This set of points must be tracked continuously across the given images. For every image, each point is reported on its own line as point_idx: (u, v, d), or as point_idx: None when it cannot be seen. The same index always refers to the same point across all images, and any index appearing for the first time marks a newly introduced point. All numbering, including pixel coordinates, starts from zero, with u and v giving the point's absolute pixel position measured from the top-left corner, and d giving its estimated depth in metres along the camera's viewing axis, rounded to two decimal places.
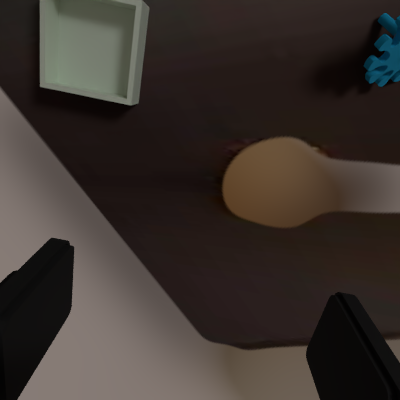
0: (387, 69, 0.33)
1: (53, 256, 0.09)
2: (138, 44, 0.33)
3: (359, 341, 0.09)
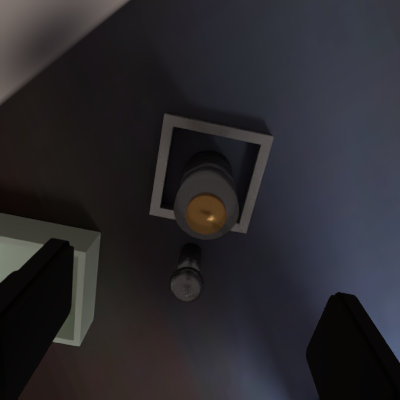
0: None
1: (53, 256, 0.09)
2: None
3: (359, 341, 0.09)
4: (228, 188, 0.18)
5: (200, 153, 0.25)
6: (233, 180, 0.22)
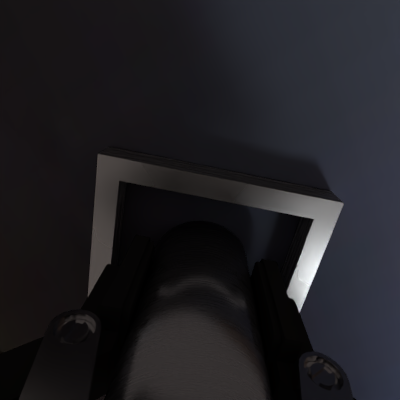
0: None
1: (144, 251, 0.10)
2: None
3: (266, 297, 0.10)
4: None
5: (182, 231, 0.12)
6: (257, 319, 0.09)
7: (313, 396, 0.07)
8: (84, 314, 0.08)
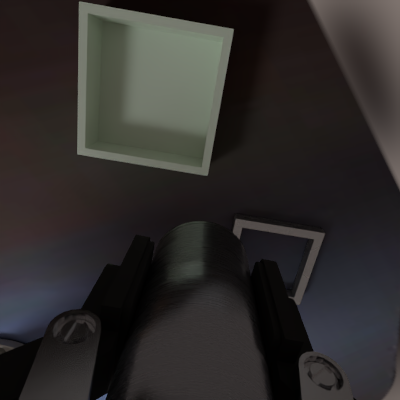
0: None
1: (144, 251, 0.10)
2: None
3: (266, 297, 0.10)
4: None
5: (183, 231, 0.12)
6: (258, 319, 0.09)
7: (313, 396, 0.07)
8: (84, 314, 0.08)
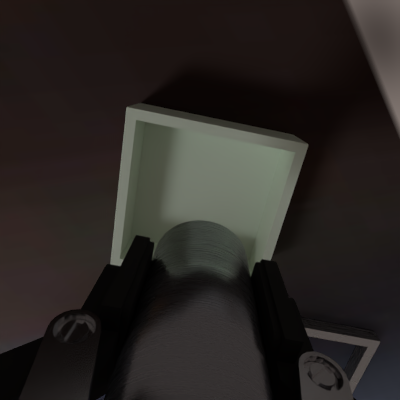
0: None
1: (144, 251, 0.10)
2: None
3: (266, 296, 0.10)
4: None
5: (182, 230, 0.12)
6: (257, 318, 0.09)
7: (313, 396, 0.07)
8: (84, 314, 0.08)
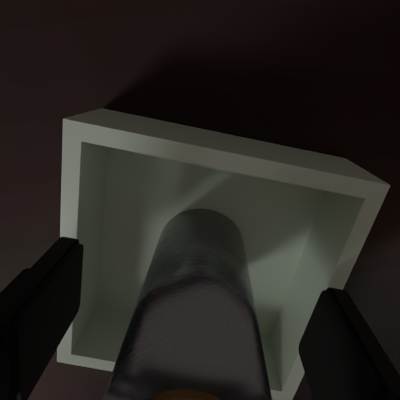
0: None
1: (64, 254, 0.09)
2: None
3: (348, 334, 0.09)
4: (248, 381, 0.06)
5: (185, 216, 0.13)
6: (251, 290, 0.10)
7: None
8: None
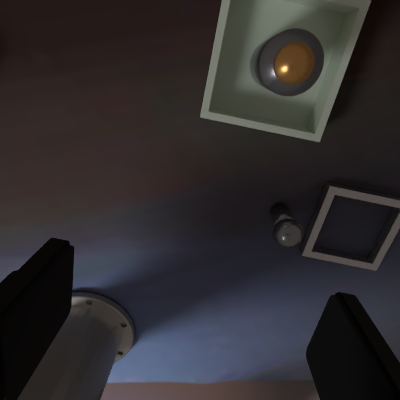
0: None
1: (53, 256, 0.09)
2: (210, 66, 0.25)
3: (359, 341, 0.09)
4: (316, 38, 0.19)
5: None
6: None
7: None
8: None
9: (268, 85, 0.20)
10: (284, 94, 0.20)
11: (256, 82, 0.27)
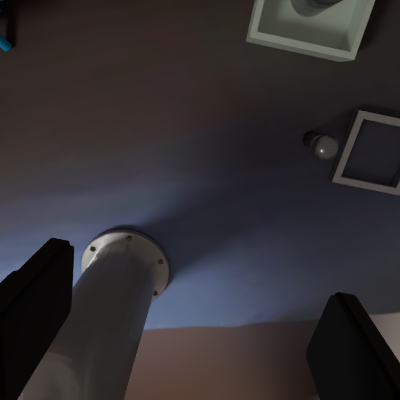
0: None
1: (53, 256, 0.09)
2: None
3: (359, 341, 0.09)
4: None
5: None
6: None
7: None
8: None
9: None
10: None
11: (296, 10, 0.31)
